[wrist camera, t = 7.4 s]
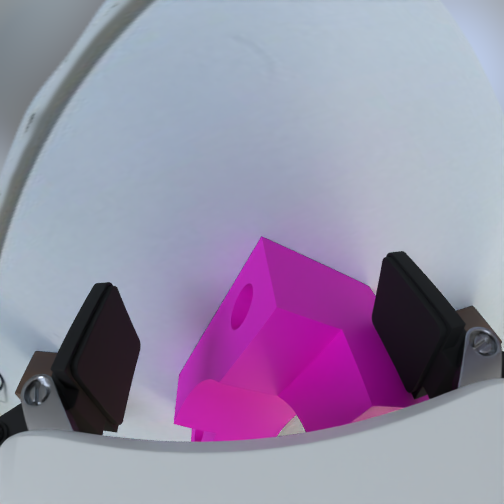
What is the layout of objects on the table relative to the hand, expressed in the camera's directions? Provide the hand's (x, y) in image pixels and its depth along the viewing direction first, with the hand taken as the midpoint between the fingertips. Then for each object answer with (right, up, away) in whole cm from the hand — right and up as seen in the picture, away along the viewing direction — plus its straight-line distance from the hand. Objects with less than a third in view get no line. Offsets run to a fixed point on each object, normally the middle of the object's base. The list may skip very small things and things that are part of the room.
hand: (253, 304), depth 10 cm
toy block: (0, -5, +6) cm, 8 cm away
